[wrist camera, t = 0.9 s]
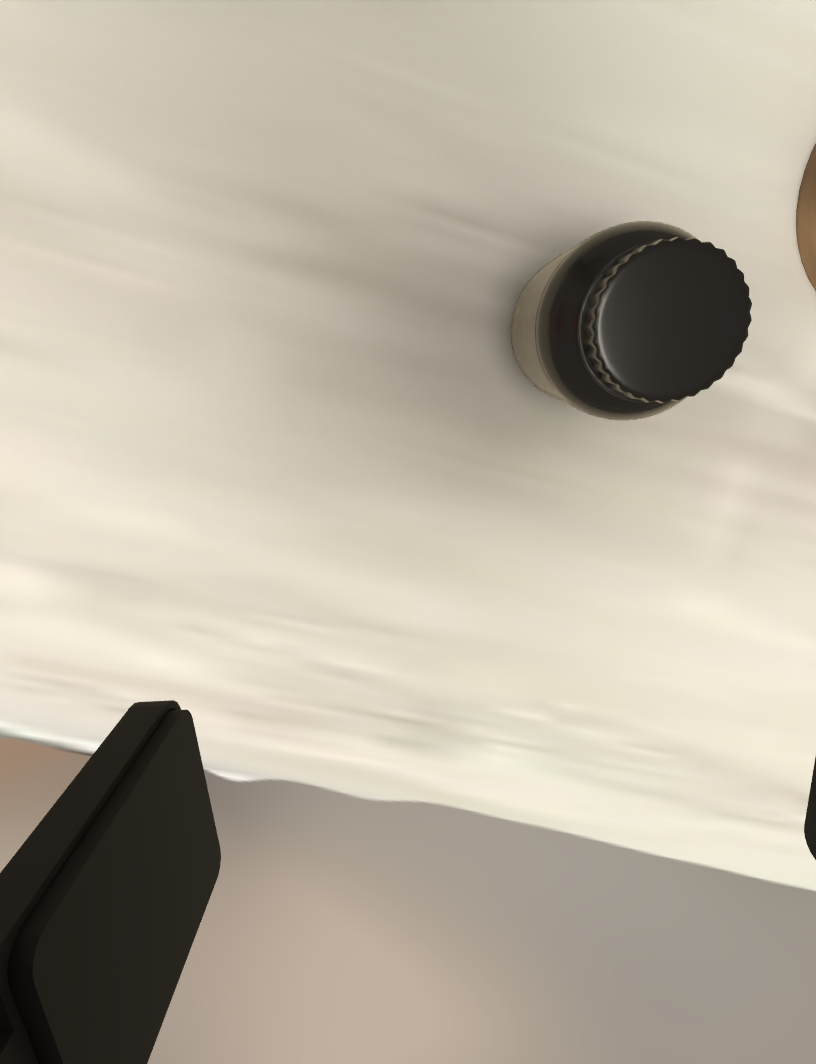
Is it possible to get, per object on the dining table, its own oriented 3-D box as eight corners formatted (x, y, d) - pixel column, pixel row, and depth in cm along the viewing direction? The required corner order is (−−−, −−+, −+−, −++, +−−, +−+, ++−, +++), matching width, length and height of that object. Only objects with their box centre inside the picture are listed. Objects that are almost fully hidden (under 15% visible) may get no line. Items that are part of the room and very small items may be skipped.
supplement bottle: (669, 268, 29) (832, 228, 17) (623, 411, 31) (741, 459, 19) (528, 235, 28) (599, 173, 17) (491, 382, 30) (533, 414, 19)
